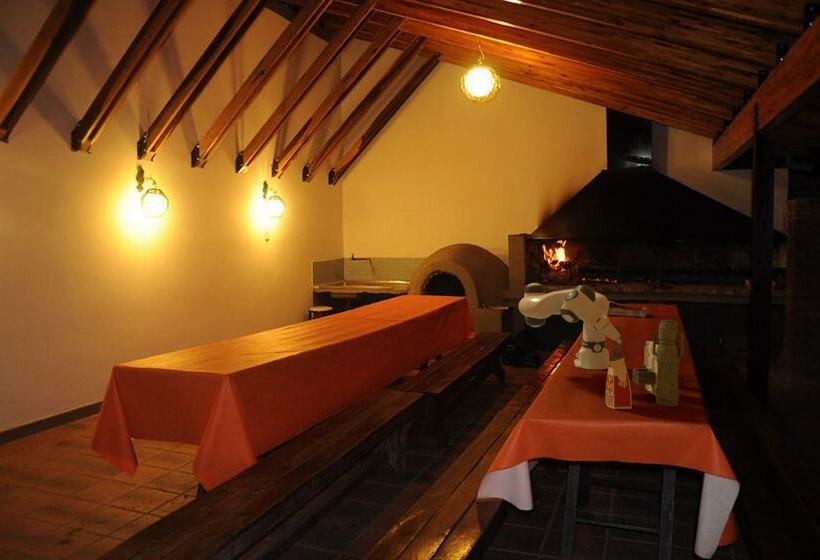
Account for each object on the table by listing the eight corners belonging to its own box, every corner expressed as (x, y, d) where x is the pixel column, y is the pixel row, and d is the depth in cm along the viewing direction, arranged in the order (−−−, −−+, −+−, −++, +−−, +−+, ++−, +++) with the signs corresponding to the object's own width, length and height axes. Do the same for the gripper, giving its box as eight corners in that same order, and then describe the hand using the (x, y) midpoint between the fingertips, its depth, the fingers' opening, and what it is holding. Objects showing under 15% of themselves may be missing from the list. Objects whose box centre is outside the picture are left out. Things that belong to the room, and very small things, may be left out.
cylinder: (611, 361, 281) (611, 325, 280) (619, 361, 281) (620, 325, 280) (613, 363, 278) (614, 326, 276) (622, 362, 278) (622, 326, 276)
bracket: (628, 389, 289) (629, 341, 287) (648, 388, 289) (648, 340, 287) (642, 399, 273) (642, 348, 271) (662, 398, 273) (663, 347, 271)
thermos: (681, 408, 258) (683, 322, 255) (650, 404, 264) (651, 320, 261) (684, 403, 266) (685, 319, 263) (654, 399, 272) (655, 317, 269)
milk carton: (624, 402, 269) (624, 355, 267) (632, 408, 259) (633, 360, 258) (602, 403, 268) (603, 355, 267) (610, 409, 259) (610, 360, 257)
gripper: (584, 321, 288) (606, 342, 289) (598, 329, 268) (621, 351, 269) (594, 311, 288) (616, 332, 289) (608, 318, 267) (631, 341, 268)
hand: (618, 341), depth 279 cm, fingers closed on cylinder, 4 cm apart
